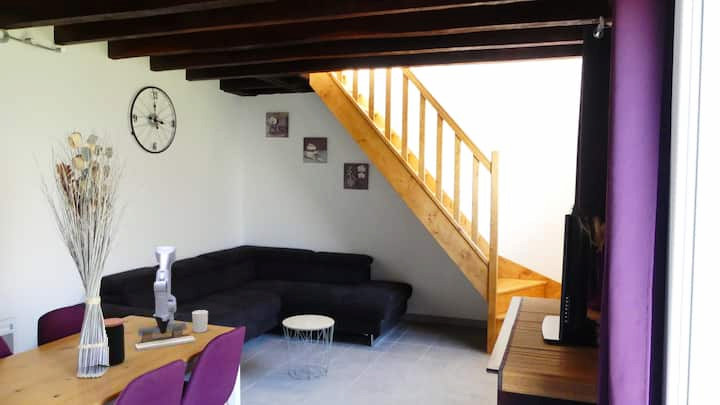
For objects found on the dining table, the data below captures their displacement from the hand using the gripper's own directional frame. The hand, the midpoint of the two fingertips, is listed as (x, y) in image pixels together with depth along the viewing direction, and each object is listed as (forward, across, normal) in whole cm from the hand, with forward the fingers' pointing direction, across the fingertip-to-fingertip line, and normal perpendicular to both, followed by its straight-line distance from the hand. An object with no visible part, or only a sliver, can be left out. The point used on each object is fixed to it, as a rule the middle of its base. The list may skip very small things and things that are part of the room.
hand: (162, 332), depth 260 cm
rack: (+4, 0, 0) cm, 4 cm away
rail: (0, 0, 0) cm, 0 cm away
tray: (+4, +8, 0) cm, 9 cm away
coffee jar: (+4, +22, -25) cm, 33 cm away
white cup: (+4, -6, +20) cm, 21 cm away
